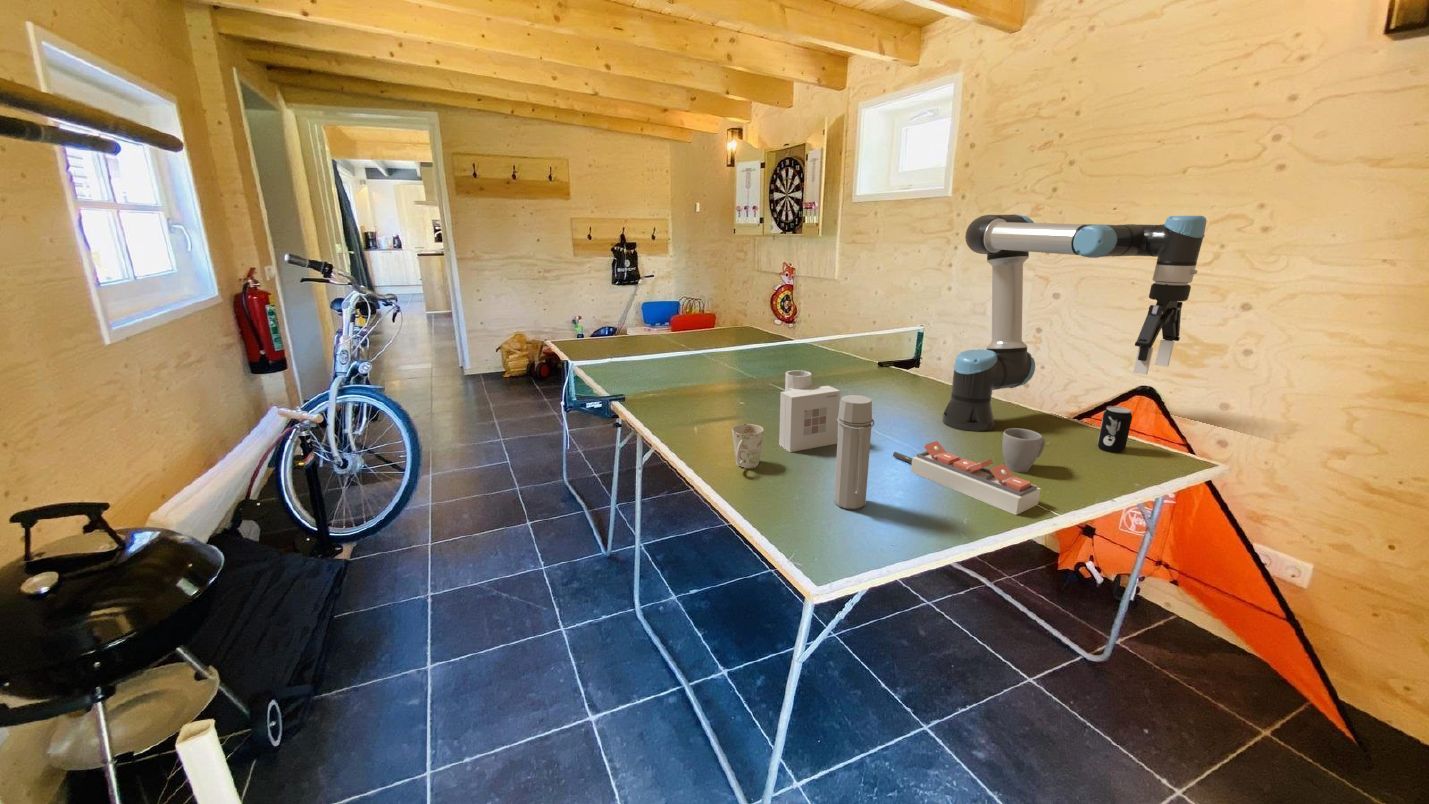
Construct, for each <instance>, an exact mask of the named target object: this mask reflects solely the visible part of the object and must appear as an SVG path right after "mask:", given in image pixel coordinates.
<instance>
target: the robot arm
mask: <svg viewBox="0 0 1429 804" xmlns="http://www.w3.org/2000/svg"><path fill="white" fill-rule="evenodd" d="M1206 225H1207V218H1206V217H1205V216H1204V215H1170V216H1168V217H1167V218H1166V219H1165V222H1164V224H1133V223H1128V224H1127V223H1126V224H1103V223H1101V224H1099V223H1098V224H1097V223H1095V224H1092V223H1091V224H1086V223H1085V224H1084V223H1082V224H1081V223H1048V222H1047V223H1046V222H1044V223H1043V222H1034V221H1033V220H1032V219H1031V217H1029V216H1026V215H1020V214H1016V213H1014V214H986V215H985V214H984V215H981V216H979V217H976V218H975V219H973V220H972V222H971V223H970V224H969V225H968V227H966V228H967V229H966V231H965V236H964V237H965V238H964V239H965V242H966V245H967V247H968V248H969V249H970V250H971V251H972V252H974V253H976V254H980V255H986V262H987V263H988V264H989V265H991V274H992V275H991V278H992V279H991V289H992V291H991V304H992V305H991V342H990V343H988V345H987V346H986V349H984V348H983V349H980V348H978V349H968V350H964V351H961V352H959V353H958V354H957V355H956V357H955V362H954V365H953V377H952V384H951V394H950V395H951V396H950V399H949V401H948V403H947V405H946V407H945V410H944V412H943V413H942V418H941V419H942V423H943V424H945V425H946V426H947V427H948V426H949V427H951V428H954V429H958V430H963V431H972V432H981V431H982V432H984V431H989V430H991V429H993V428H994V424H995V417H994V412H993V408H992V403H991V401H992V394H993V391H996V390H1003V389H1013V388H1017V387H1020V386H1024V385H1025V384H1027V383H1028V382H1030V380H1031V379H1032V378H1033V375H1034V374H1035V371H1036V362H1035V359H1034V357H1032V354H1031V353H1030V352H1028V345H1027V344H1026V343H1025V342H1023V292H1024V290H1023V289H1024V288H1023V286H1024V285H1023V284H1024V282H1023V281H1024V280H1023V279H1024V263H1025V262H1026V261H1027V260H1028V259H1029V257H1030V256H1029V255H1030V252H1031V253H1044V254H1056V255H1057V254H1059V255H1069V256H1072V255H1073V256H1081V257H1084V258H1088V259H1089V258H1090V259H1093V258H1094V259H1095V258H1096V259H1097V258H1103V257H1104V258H1107V257H1112V258H1113V257H1130V256H1131V257H1154V258H1155V257H1157V260H1156V263H1155V267H1154V271H1153V276H1152V281H1153V282H1154V283H1152V284H1151V285H1150V286H1151V287H1150V288H1149V289H1150V291H1149V295H1148V298H1149V299H1150V300H1155V301H1156V303H1155V305H1154V304H1150V305H1149V307H1148V311H1147V315H1146V317H1145V319H1144V323H1143V325H1142V327H1141V330H1140V331H1139V334H1138V336H1137V339H1136V341H1135V342H1134V347H1138V348H1137V354H1136V358H1135V362H1134V368H1133V373H1134V374H1141V375H1146V376H1147V375H1148V372H1149V368H1150V365H1151V361H1152V356H1153V352H1154V347H1153V345H1154V343H1155V341H1156V339H1157V338H1158V336H1159V334H1160V332H1161V333H1162V335H1161V336H1162V339H1160V341H1159V346H1158V349H1157V353H1156V358H1155V362H1154V365H1155V366H1159V367H1167V368H1168V367H1169V365H1170V361H1171V357H1172V353H1173V349H1174V345H1175V342H1179V341H1180V329H1181V318H1182V317H1181V315H1182V308H1183V302H1185V301H1187V300H1188V299H1189V297H1190V292H1191V290H1192V286H1191V285H1190V284H1191V283H1192V282H1193V280H1194V275H1197V274H1198V270H1197V269H1196V267H1197V263H1198V259H1199V254H1200V251H1201V247H1202V243H1203V239H1204V238H1205V237H1206V236H1205V232H1206V228H1207V227H1206Z"/></svg>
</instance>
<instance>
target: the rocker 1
mask: <svg viewBox="0 0 1429 804" xmlns="http://www.w3.org/2000/svg"><path fill="white" fill-rule="evenodd" d="M923 447H924V449H925V450H926V451H928V453H929V454H930V455H931V456H932V457H931V458H932V459H934V460H936V461H939V462H942V463H944V464H947V465H950V464H952V463H954V462H956V461H959V459H961V457H960V456H958V455H956V454H952V453H950V452H948V451H947V450H945V449H944V447H943V446H942V445H941V444H940V442H939V440H935V441H933V442H932V441H931V442H930V443H926V444H925V445H924V446H923Z"/></svg>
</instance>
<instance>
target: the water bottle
mask: <svg viewBox="0 0 1429 804" xmlns="http://www.w3.org/2000/svg"><path fill="white" fill-rule="evenodd" d="M872 403H873V402H872V398H870V397H868V396H865V395H859V394H858V395H857V394H855V395H854V394H850V395H844V396H840V404H839V415H838V418H837V421H838V437H837V444H836V445H837V447H836V459H835V462H836V463H835V476H834V477H835V478H834V479H835V480H834V482H835V483H834V495H833V500H834V501H833V502H834V503H835V504H836V505H837V506H839V507H840V508H843V509H847V510H856V509H858V510H859V509H861V508H862V507H863V506H865V505H866V502H867V488H868V474H869V465H870V464H869V463H870V461H869V460H870V453H871V452H870V450H871V437H872V428H873V427H874V426H875V420H874V419H873V406H872Z"/></svg>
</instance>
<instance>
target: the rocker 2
mask: <svg viewBox="0 0 1429 804" xmlns="http://www.w3.org/2000/svg"><path fill="white" fill-rule="evenodd" d="M989 470H990V471H991V473H992V474H993V475H994V476H995V477H996V479H997V480H998V481H999V482H998V483H1000V484H1001V485H1003V486H1006V487H1009V488H1011V489H1014V490H1017V491H1019V492H1020V491H1022V490H1024V489H1026V488H1029V487H1030V486H1031V484H1032V482H1031V481H1029V480H1026V479H1023V478H1021V477H1017V476H1015V475H1014V474H1013V472H1012V471H1011V470H1009V469H1008V468H1007V467H1006V464H1005V462H1004V463H1001V464H998V465H996V466H993V467H992V468H990V469H989Z"/></svg>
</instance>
